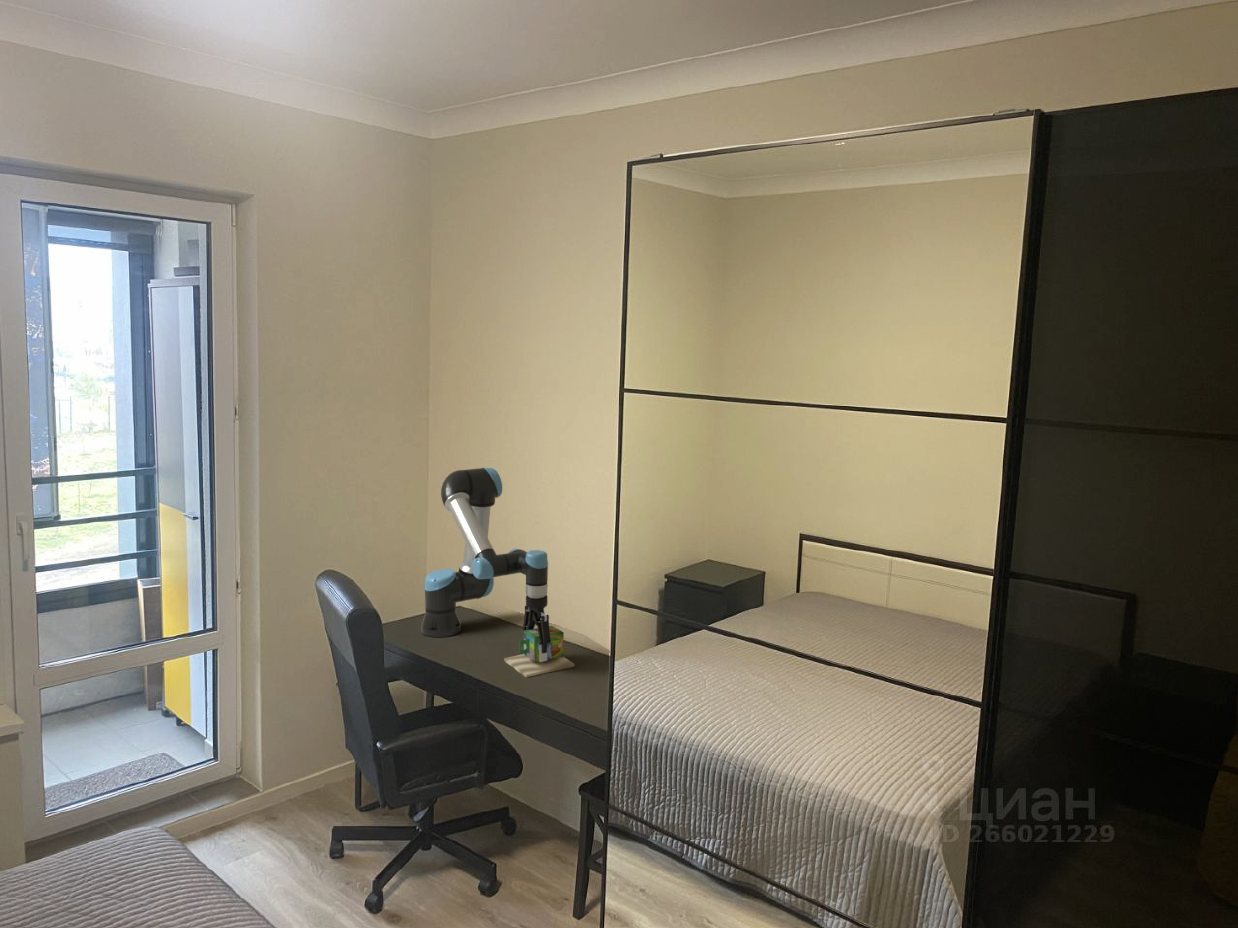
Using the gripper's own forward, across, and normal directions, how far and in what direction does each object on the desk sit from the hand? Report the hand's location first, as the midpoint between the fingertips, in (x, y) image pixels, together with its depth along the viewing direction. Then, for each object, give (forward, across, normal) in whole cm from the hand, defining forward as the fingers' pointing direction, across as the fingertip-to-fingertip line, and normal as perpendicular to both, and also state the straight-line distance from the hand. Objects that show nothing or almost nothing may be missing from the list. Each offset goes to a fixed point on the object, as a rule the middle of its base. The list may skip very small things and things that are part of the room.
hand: (536, 656), depth 309 cm
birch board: (+3, 0, -1) cm, 3 cm away
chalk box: (-4, 0, -9) cm, 10 cm away
